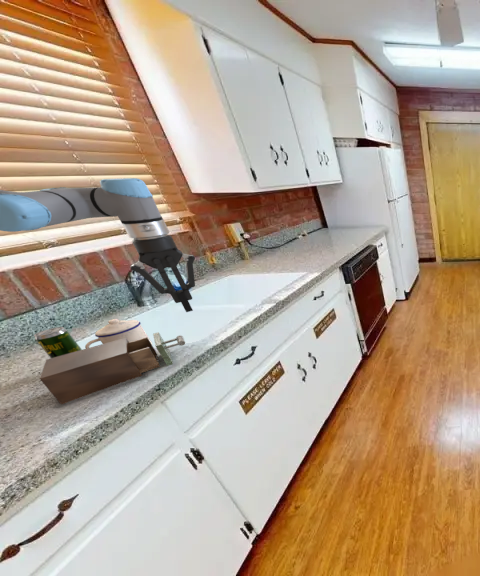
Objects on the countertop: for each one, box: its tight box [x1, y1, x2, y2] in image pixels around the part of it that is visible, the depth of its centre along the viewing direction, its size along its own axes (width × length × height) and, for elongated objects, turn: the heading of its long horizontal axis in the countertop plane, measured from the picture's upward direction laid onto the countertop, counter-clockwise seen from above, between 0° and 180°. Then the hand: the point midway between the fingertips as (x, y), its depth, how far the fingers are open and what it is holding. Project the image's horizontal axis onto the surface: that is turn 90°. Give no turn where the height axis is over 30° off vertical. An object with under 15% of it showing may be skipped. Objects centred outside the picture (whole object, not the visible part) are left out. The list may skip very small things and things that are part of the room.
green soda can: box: [33, 326, 83, 359], centre depth 87 cm, size 5×5×12 cm
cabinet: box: [39, 338, 143, 405], centre depth 81 cm, size 14×12×9 cm
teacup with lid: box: [84, 318, 153, 349], centre depth 93 cm, size 12×9×12 cm
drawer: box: [128, 332, 186, 374], centre depth 87 cm, size 17×10×7 cm, turn 141°
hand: (189, 310), depth 92 cm, fingers closed
